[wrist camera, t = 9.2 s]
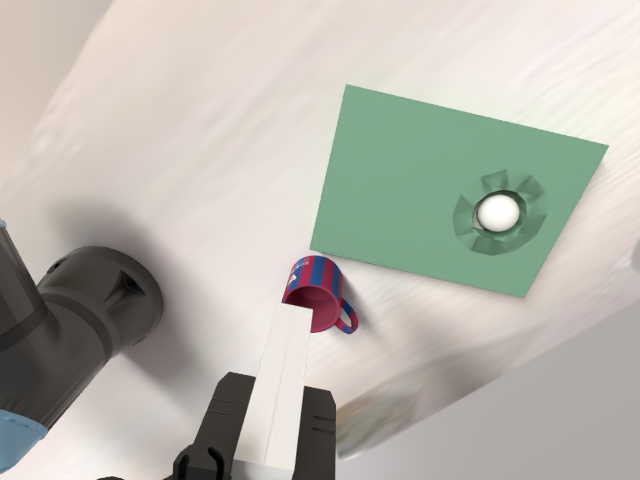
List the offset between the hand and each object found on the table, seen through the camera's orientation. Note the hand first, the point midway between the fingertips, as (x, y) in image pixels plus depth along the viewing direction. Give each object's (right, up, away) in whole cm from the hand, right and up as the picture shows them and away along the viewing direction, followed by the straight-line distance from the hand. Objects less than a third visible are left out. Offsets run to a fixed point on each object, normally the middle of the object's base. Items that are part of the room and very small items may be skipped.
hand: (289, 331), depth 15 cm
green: (+15, +9, +24) cm, 30 cm away
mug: (+2, -2, +30) cm, 31 cm away
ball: (+20, +8, +24) cm, 32 cm away
